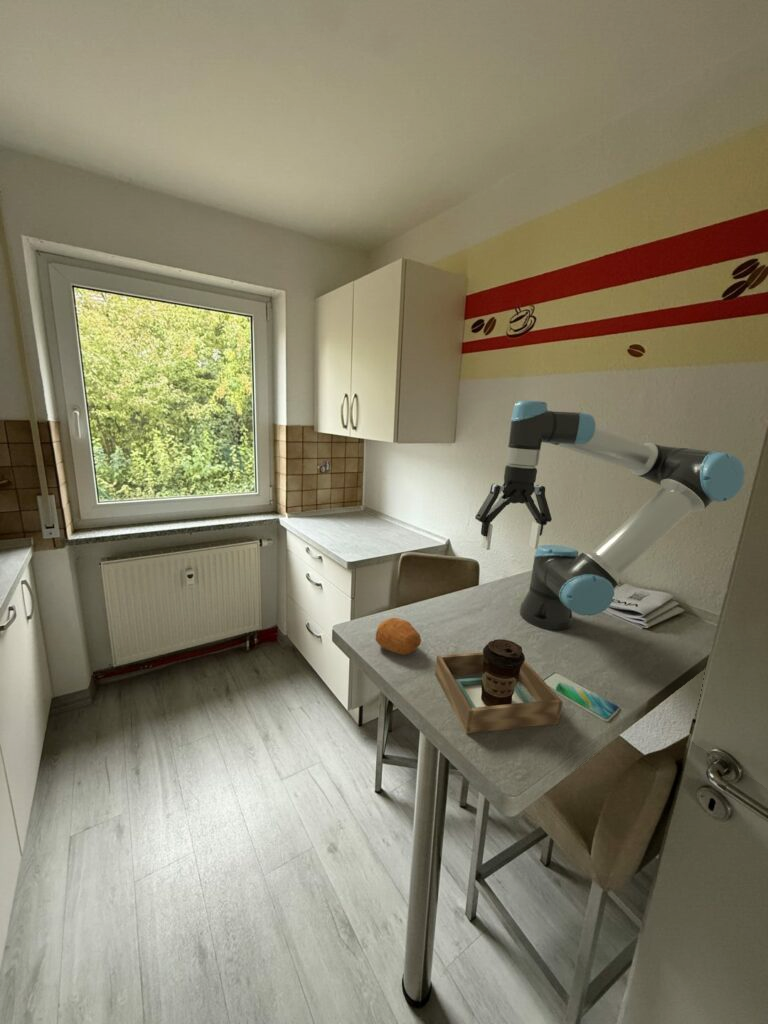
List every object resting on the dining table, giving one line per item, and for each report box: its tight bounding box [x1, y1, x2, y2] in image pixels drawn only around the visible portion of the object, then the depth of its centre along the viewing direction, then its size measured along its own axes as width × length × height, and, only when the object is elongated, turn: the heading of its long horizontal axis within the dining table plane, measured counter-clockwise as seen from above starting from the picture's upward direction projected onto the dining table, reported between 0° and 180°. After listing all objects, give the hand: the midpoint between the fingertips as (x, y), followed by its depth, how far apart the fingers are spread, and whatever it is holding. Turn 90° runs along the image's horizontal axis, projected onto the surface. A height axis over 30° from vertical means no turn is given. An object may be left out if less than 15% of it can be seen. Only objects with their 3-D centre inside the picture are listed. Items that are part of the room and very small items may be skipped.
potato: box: [375, 617, 422, 656], centre depth 103 cm, size 9×11×8 cm
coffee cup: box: [481, 638, 526, 706], centre depth 85 cm, size 9×8×13 cm
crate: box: [434, 652, 564, 735], centre depth 88 cm, size 20×18×5 cm
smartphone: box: [542, 672, 620, 723], centre depth 91 cm, size 7×1×15 cm
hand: (509, 547), depth 105 cm, fingers open, 13 cm apart
